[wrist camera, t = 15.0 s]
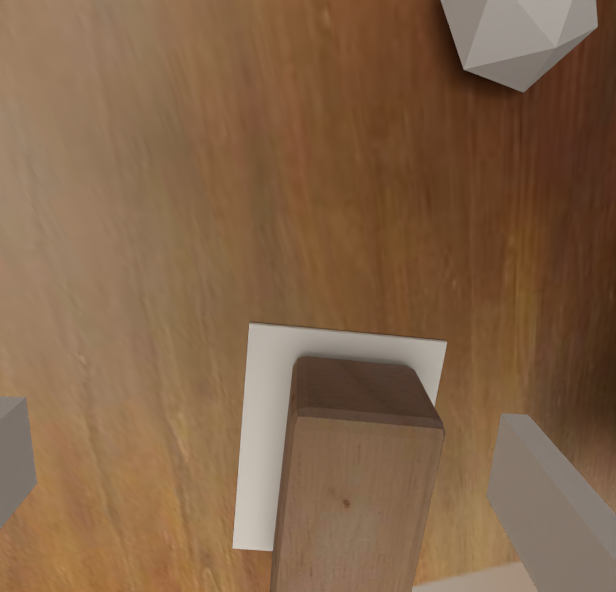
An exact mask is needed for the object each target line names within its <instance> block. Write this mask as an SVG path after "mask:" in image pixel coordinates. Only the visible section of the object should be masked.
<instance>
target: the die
mask: <svg viewBox="0 0 616 592" xmlns="http://www.w3.org/2000/svg"><path fill="white" fill-rule="evenodd" d="M441 3H442V6H443V9H444V12H445V15H446V18H447V21H448V24H449V27H450V30H451V33H452V36H453V39H454V42H455V45H456V48H457V51H458V54H459V57H460V60H461V63H462V66H463V69H464V70H466V71H469V72H471V73H474V74H476V75H479V76H482V77H484V78H487V79H489V80H492V81H495V82H497V83H500V84H502V85H505V86H508V87H510V88H513V89H515V90H518V91H521V92H525V91H526V90H527V89H528V88H529V87H530V86H531V85H532V84H534V83H535V82H536V81H537V80H538V79H539V78H540V77H541V76H543V75H544V74H545V73H546V72H547V71H548V70H549V69H551V68H552V67H553V66H554V65H555V64H556V63H557V62H558V61H560V60H561V59H562V58H563V57H564V56H565V55H566V54H567V53H569V52H570V51H571V50H572V49H573V48H574V47H575V46H577V45H578V44H579V43H580V42H581V41H582V40H583V39H584V38H586V37H587V36H588V35H589V34H590V33H591V32H592V31H593V30H595V29H596V28H597V27H598V23H597V9H596V0H441Z"/></svg>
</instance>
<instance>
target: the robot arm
mask: <svg viewBox="0 0 616 592" xmlns="http://www.w3.org/2000/svg"><path fill="white" fill-rule="evenodd" d="M36 484H37V479H36V471H35V463H34V456H33V448H32V440H31V432H30V424H29V417H28V409H27V401H26V397H6V396H0V529H1V528H2V526H3V525H4V524H5V523H6V521H7V520H8V519H9V518H10V516H11V515H12V514H13V513H14V511H15V510H16V509H17V508H18V506H19V505H20V504H21V503H22V501H23V500H24V499H25V498H26V496H27V495H28V494H29V493H30V491H31V490H32V489H33V488H34V486H35V485H36ZM486 497H487V499H488V500H489V502H490V504H491V506H492V508H493V510H494V511H495V513H496V515H497V517H498V519H499V521H500V522H501V524H502V526H503V528H504V530H505V532H506V533H507V535H508V537H509V539H510V541H511V543H512V545H513V546H514V548H515V550H516V552H517V554H518V556H519V557H520V559H521V561H522V563H523V565H524V567H525V568H526V570H527V572H528V574H529V576H530V578H531V579H532V581H533V583H534V585H535V587H536V588H537V590H538V592H616V514H615V513H614V512H613V511H612V510H611V509H610V507H609V506H608V505H607V504H606V503H605V502H604V501H603V499H602V498H601V497H600V496H599V495H598V494H597V493H596V491H595V490H594V489H593V488H592V487H591V486H590V485H589V483H588V482H587V481H586V480H585V479H584V478H583V477H582V475H581V474H580V473H579V472H578V471H577V470H576V469H575V468H574V466H573V465H572V464H571V463H570V462H569V461H568V460H567V458H566V457H565V456H564V455H563V454H562V453H561V452H560V450H559V449H558V448H557V447H556V446H555V445H554V444H553V442H552V441H551V440H550V439H549V438H548V437H547V436H546V434H545V433H544V432H543V431H542V430H541V429H540V428H539V426H538V425H537V424H536V423H535V422H534V421H533V420H532V418H531V417H530V416H529V415H526V414H501V417H500V423H499V429H498V434H497V440H496V445H495V451H494V457H493V462H492V468H491V473H490V479H489V485H488V490H487V496H486Z"/></svg>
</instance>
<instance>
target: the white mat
mask: <svg viewBox="0 0 616 592" xmlns="http://www.w3.org/2000/svg"><path fill="white" fill-rule="evenodd" d="M446 346H447V341H446V340H435V339H425V338H414V337H403V336H393V335H382V334H371V333H361V332H350V331H339V330H329V329H318V328H307V327H296V326H286V325H275V324H264V323H254V322H250V323H249V335H248V349H247V362H246V375H245V389H244V402H243V415H242V429H241V442H240V455H239V469H238V482H237V495H236V509H235V522H234V535H233V548H236V549H250V550H263V551H273V543H274V534H275V525H276V516H277V507H278V497H279V488H280V479H281V470H282V461H283V452H284V442H285V433H286V424H287V415H288V406H289V397H290V387H291V378H292V369H293V365H294V364H295V362H296V360H297V359H298V358H299V357H303V356H312V357H322V358H333V359H343V360H354V361H364V362H375V363H385V364H396V365H405V366H408V367H410V368H412V369H414V370H415V372H416V373H417V375H418V377H419V379H420V381H421V383H422V385H423V387H424V389H425V391H426V392H427V394H428V396H429V398H430V400H431V402H432V404H433V406H435V401H436V396H437V391H438V386H439V381H440V376H441V371H442V366H443V361H444V356H445V351H446Z"/></svg>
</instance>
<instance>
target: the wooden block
mask: <svg viewBox="0 0 616 592" xmlns="http://www.w3.org/2000/svg"><path fill="white" fill-rule="evenodd" d="M444 436H445V430H444V426H443V423H442V421H441V419H440V417H439V415H438V413H437V411H436V409H435V408H434V406H433V404H432V402H431V400H430V398H429V396H428V394H427V392H426V391H425V389H424V387H423V385H422V383H421V381H420V379H419V377H418V375H417V373H416V372H415V370H414V369H412V368H410V367H408V366H405V365H396V364H385V363H375V362H364V361H354V360H343V359H333V358H322V357H312V356H303V357H299V358H298V359H297V360H296V362H295V364H294V365H293V369H292V378H291V387H290V397H289V406H288V415H287V424H286V433H285V442H284V452H283V461H282V470H281V479H280V488H279V497H278V507H277V516H276V525H275V534H274V543H273V554H272V568H271V582H270V592H411V591H412V586H413V582H414V577H415V572H416V568H417V563H418V558H419V553H420V549H421V544H422V539H423V535H424V530H425V525H426V521H427V516H428V511H429V507H430V502H431V497H432V493H433V488H434V483H435V479H436V474H437V469H438V465H439V460H440V455H441V450H442V446H443V441H444Z"/></svg>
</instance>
